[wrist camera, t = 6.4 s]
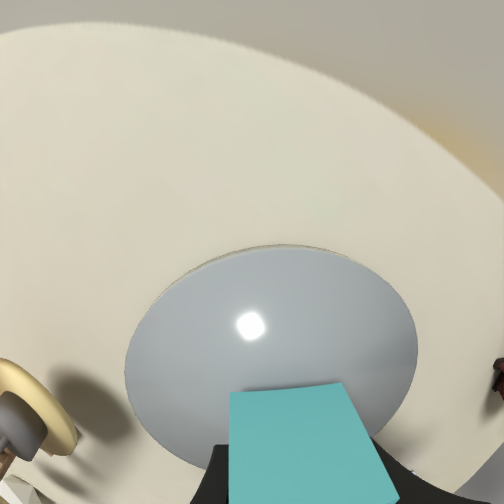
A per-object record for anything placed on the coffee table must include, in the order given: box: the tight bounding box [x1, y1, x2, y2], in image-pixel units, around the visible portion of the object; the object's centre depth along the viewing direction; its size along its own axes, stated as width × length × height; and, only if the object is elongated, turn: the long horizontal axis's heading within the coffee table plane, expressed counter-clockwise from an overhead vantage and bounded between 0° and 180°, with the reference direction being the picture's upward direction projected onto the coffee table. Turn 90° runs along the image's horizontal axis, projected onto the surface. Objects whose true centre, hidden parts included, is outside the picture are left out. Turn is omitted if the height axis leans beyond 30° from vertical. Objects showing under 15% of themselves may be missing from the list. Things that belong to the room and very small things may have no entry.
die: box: [0, 474, 42, 504], centre depth 13 cm, size 8×9×10 cm
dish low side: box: [124, 244, 418, 470], centre depth 12 cm, size 15×15×1 cm
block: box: [229, 382, 400, 504], centre depth 7 cm, size 4×4×6 cm
